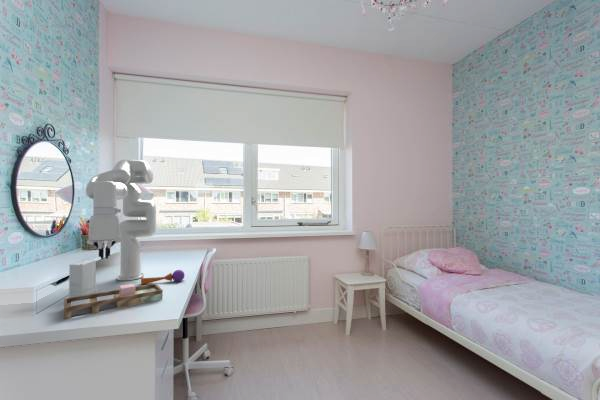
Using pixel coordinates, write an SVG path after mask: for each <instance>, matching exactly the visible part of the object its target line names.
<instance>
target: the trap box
mask: <svg viewBox="0 0 600 400" xmlns="http://www.w3.org/2000/svg"><path fill="white" fill-rule="evenodd" d="M119 291H120V288H119V289H114V290H109V291H102V292H95V293H92V294H89V295H83V296H77V297H71V298H69V297H66V298H64V299H63V300H64V301H63V320H66V319H67V320H68V319H71V318H73V317H79V316H83V315H88V314H96V313H100V312H103V311H108V310H112V309H120V308H127V307H131V306H135V305H141V304H147V303H150V302H156V301H161V300H163V289H162V288H161V286H159V284H157V283H155V282H154V283H148V284H143V285H139V286H136V288H135V294H134V295H128V296H123V297H120V295H119ZM108 296H113V298H107V299H103V300H101V299H100V300H98V298H101V297H108ZM83 300H89V301H90V302H86V303H80V304H74V305H72V302H78V301H83Z"/></svg>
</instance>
